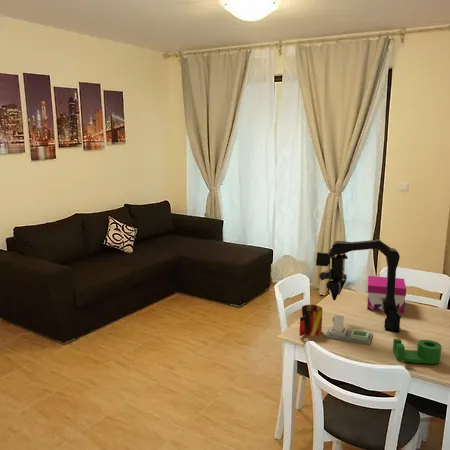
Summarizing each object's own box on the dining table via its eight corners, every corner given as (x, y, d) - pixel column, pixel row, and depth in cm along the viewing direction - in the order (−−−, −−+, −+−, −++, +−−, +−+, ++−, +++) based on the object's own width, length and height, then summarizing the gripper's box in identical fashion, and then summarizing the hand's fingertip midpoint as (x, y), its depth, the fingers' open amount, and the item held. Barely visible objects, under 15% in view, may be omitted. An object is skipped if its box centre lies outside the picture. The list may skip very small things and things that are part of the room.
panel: (372, 335, 214) (372, 330, 214) (369, 345, 203) (369, 340, 203) (330, 328, 222) (330, 323, 222) (324, 337, 212) (325, 332, 211)
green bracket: (436, 354, 195) (437, 340, 194) (443, 364, 186) (444, 349, 185) (392, 351, 198) (393, 337, 197) (397, 361, 189) (398, 346, 188)
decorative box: (366, 312, 244) (368, 285, 241) (366, 300, 262) (368, 275, 259) (404, 316, 238) (406, 288, 236) (402, 304, 256) (403, 278, 254)
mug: (299, 338, 211) (299, 313, 209) (302, 327, 224) (302, 303, 222) (320, 340, 208) (321, 315, 206) (322, 329, 222) (323, 305, 220)
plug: (343, 332, 216) (343, 316, 214) (341, 335, 212) (342, 318, 211) (333, 330, 218) (334, 314, 216) (331, 333, 214) (332, 317, 213)
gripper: (325, 260, 234) (324, 290, 237) (316, 269, 218) (315, 300, 220) (347, 263, 229) (346, 292, 232) (339, 272, 213) (338, 304, 215)
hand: (336, 297), depth 225 cm, fingers open, 9 cm apart
